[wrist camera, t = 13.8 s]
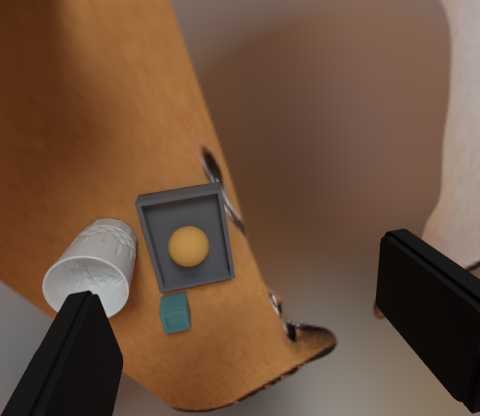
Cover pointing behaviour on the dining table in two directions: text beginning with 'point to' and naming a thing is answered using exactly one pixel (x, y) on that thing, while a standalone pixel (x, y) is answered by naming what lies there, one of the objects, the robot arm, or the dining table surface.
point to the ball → (188, 246)
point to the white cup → (95, 266)
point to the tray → (180, 215)
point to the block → (175, 313)
